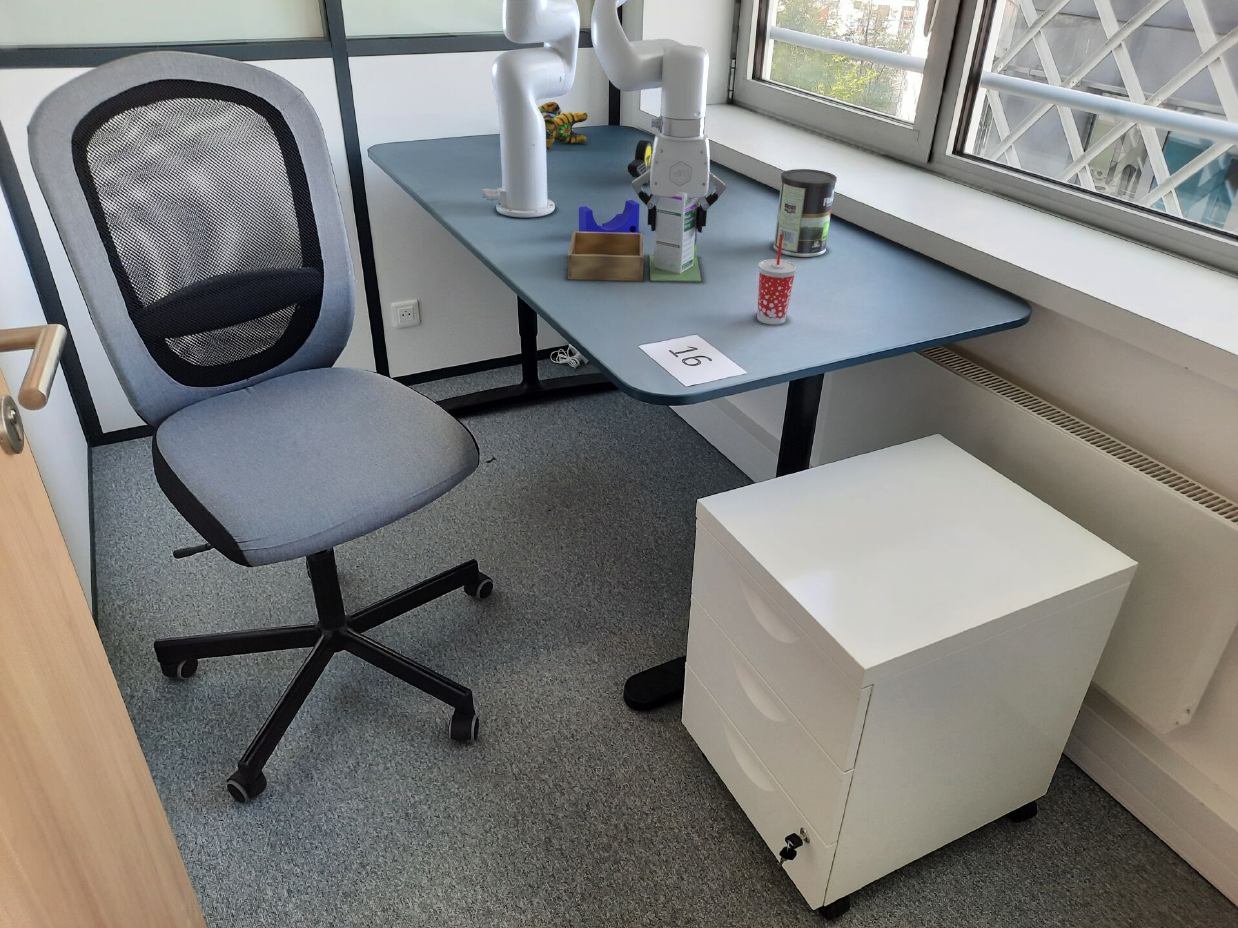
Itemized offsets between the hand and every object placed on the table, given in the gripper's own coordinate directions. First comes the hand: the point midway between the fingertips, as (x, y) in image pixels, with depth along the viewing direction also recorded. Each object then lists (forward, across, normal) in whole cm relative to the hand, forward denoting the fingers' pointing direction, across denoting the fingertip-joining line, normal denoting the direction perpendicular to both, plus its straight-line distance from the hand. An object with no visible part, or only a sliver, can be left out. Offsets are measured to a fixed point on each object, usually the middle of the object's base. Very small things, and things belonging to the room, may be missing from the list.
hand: (676, 229), depth 158 cm
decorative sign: (+8, -4, +61) cm, 62 cm away
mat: (+7, 0, 0) cm, 7 cm away
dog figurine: (+8, -31, +96) cm, 101 cm away
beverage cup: (+8, +15, -22) cm, 28 cm away
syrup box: (+7, 0, 0) cm, 7 cm away
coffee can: (+8, +25, +13) cm, 29 cm away
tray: (+7, -12, 0) cm, 14 cm away
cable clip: (+8, -13, +19) cm, 24 cm away
